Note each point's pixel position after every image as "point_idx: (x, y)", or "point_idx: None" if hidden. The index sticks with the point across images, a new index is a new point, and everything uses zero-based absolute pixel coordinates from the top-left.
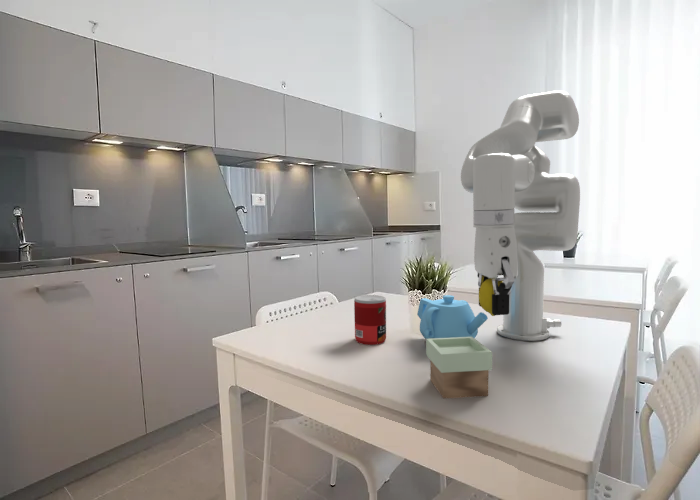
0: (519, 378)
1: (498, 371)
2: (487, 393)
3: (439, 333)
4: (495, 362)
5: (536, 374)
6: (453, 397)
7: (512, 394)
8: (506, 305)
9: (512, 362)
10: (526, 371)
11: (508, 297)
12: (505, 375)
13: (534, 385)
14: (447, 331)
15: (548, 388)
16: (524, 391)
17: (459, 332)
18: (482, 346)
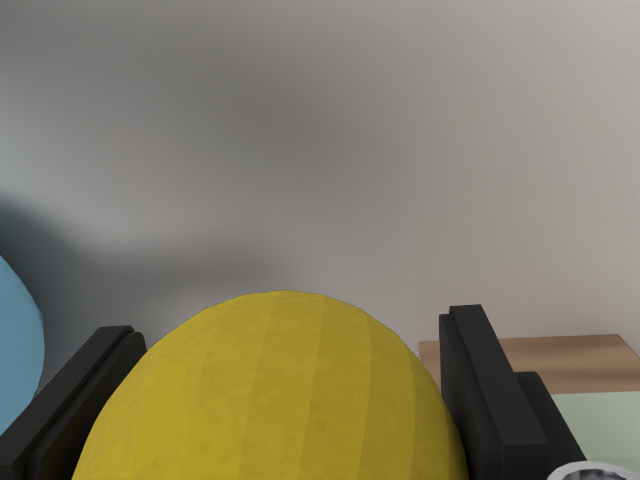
0: (444, 121)
1: (346, 191)
2: (622, 342)
3: None
4: (219, 160)
5: (398, 4)
6: None
7: (621, 229)
8: (553, 403)
9: (218, 66)
10: (353, 42)
11: (532, 419)
12: (400, 176)
13: (539, 82)
14: (8, 408)
15: (586, 25)
16: (600, 162)
17: (7, 341)
18: (636, 470)
